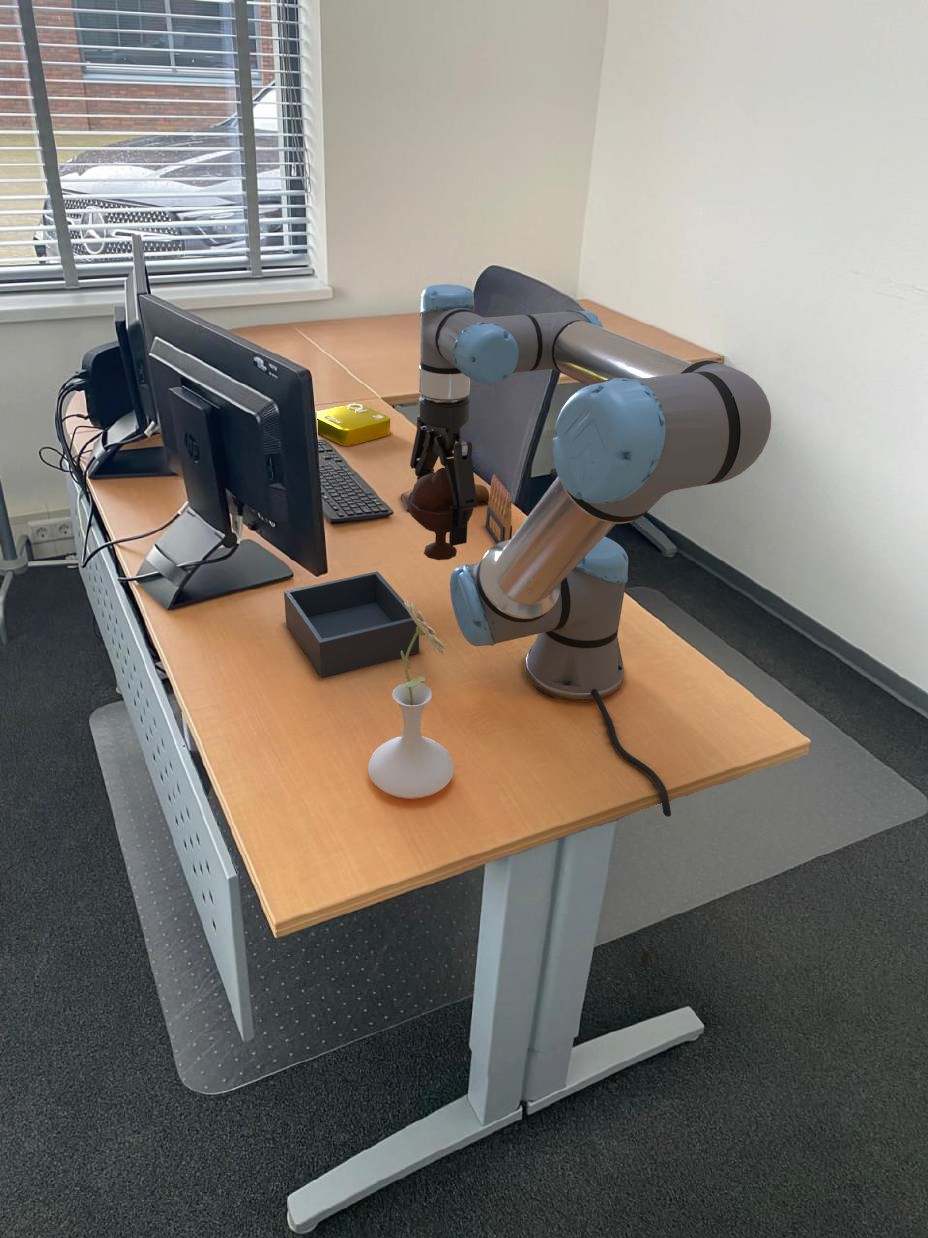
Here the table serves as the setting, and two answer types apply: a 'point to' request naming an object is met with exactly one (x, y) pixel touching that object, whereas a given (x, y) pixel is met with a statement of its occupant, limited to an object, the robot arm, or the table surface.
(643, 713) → the table surface
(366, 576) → the open square box
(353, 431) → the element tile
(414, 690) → the flower in vase
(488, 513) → the ammunition clip
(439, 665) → the table surface
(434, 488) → the ice cream bowl
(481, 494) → the sunglasses case
